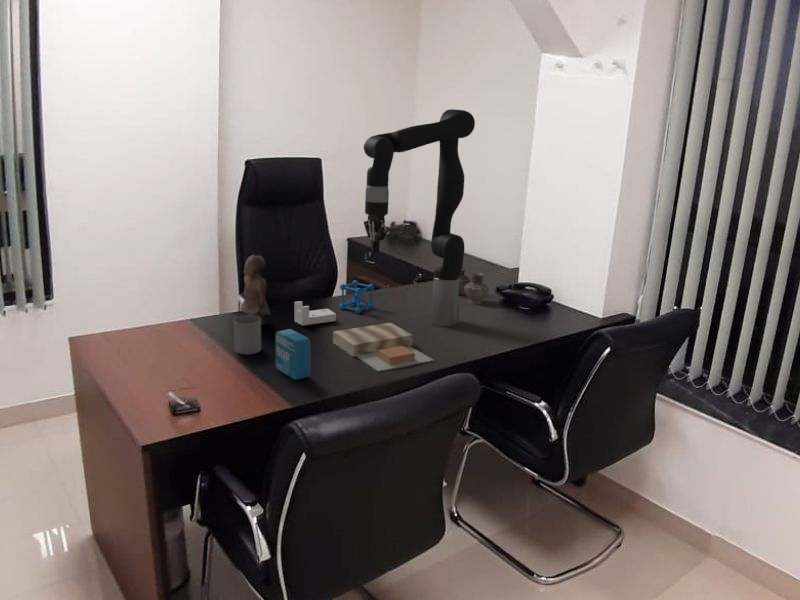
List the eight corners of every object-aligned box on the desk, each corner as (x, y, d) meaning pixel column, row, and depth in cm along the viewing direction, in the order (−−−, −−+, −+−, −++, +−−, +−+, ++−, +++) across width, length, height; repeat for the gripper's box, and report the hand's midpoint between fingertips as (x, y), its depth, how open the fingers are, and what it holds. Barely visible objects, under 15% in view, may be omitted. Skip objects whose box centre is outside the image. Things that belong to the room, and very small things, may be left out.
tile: (414, 352, 212) (414, 360, 213) (402, 345, 218) (402, 353, 218) (390, 357, 207) (389, 365, 208) (378, 350, 213) (378, 357, 214)
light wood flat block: (390, 333, 237) (390, 322, 236) (412, 346, 226) (412, 335, 225) (333, 342, 226) (333, 331, 225) (353, 356, 214) (353, 344, 213)
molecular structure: (338, 309, 262) (338, 284, 259) (354, 303, 270) (355, 279, 267) (358, 314, 256) (359, 289, 253) (374, 308, 264) (375, 283, 261)
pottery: (471, 307, 272) (473, 278, 269) (437, 291, 293) (439, 264, 289) (494, 304, 277) (496, 275, 274) (459, 288, 298) (461, 262, 295)
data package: (275, 368, 203) (275, 330, 199) (288, 365, 206) (288, 327, 202) (297, 381, 194) (297, 342, 191) (310, 378, 197) (311, 339, 194)
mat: (410, 347, 225) (410, 346, 225) (433, 361, 214) (433, 360, 214) (356, 356, 215) (356, 355, 214) (378, 371, 204) (378, 370, 204)
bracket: (302, 328, 240) (302, 307, 237) (294, 322, 245) (294, 302, 243) (335, 323, 246) (336, 303, 244) (327, 317, 252) (327, 298, 250)
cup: (237, 355, 211) (237, 324, 208) (231, 346, 218) (230, 317, 215) (264, 352, 215) (264, 321, 212) (257, 343, 222) (256, 314, 219)
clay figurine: (234, 322, 242) (232, 252, 234) (259, 317, 248) (258, 249, 241) (253, 332, 232) (251, 260, 225) (278, 326, 239) (277, 256, 232)
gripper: (397, 202, 219) (395, 255, 224) (376, 196, 230) (375, 247, 235) (377, 203, 215) (375, 257, 220) (357, 197, 226) (355, 248, 231)
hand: (375, 251), depth 227 cm, fingers closed
